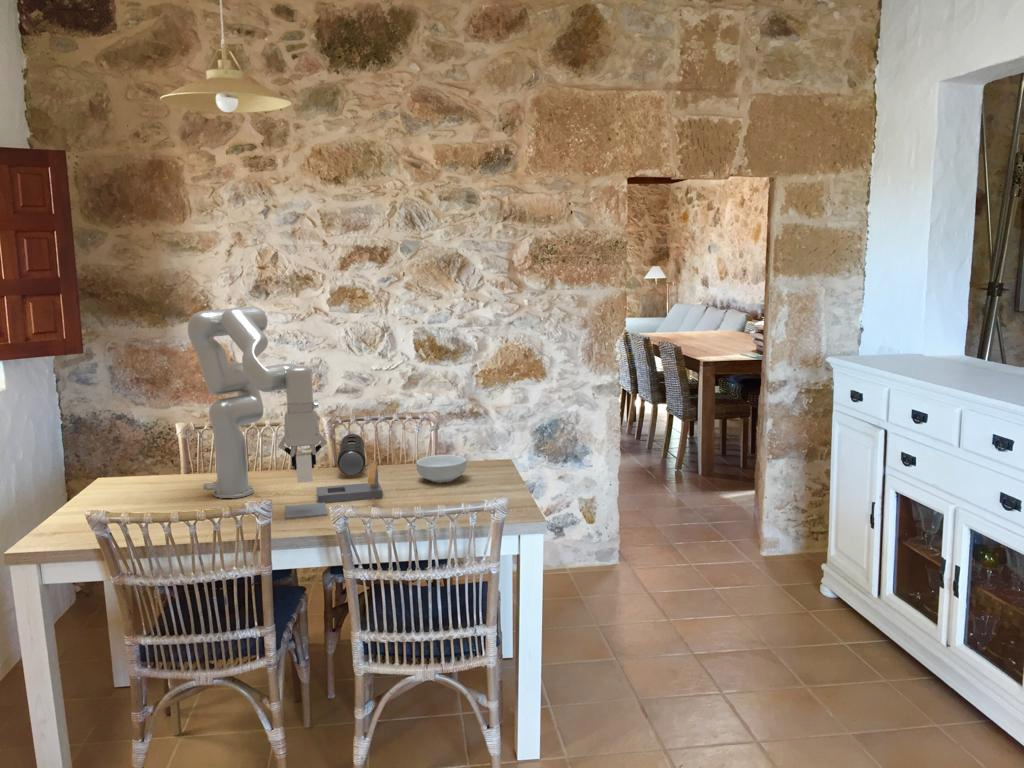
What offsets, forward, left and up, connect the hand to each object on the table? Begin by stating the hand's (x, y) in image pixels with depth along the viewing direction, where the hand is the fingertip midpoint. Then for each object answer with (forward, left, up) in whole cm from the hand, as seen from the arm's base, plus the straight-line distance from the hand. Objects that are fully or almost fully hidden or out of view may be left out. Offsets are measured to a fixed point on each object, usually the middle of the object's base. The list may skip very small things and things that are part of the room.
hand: (304, 467), depth 254 cm
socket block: (+14, +12, -14) cm, 23 cm away
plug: (0, 0, -4) cm, 4 cm away
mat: (0, 0, -14) cm, 14 cm away
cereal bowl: (+46, +22, -14) cm, 53 cm away
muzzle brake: (+18, +47, -14) cm, 52 cm away
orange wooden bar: (+20, +3, -5) cm, 21 cm away
